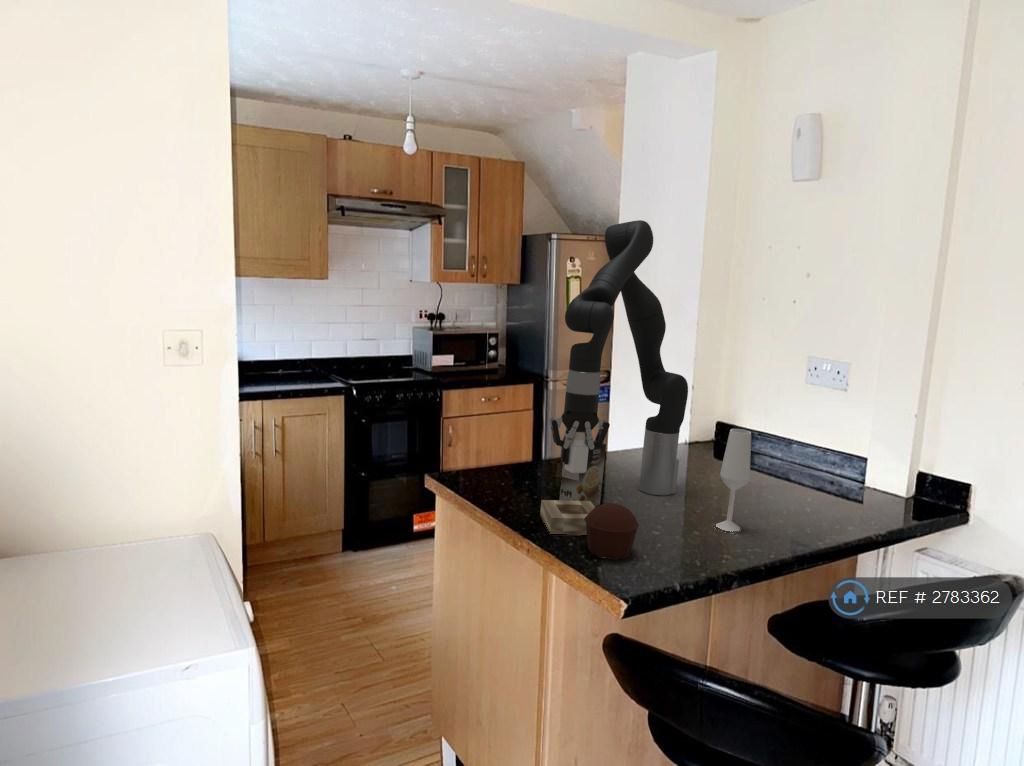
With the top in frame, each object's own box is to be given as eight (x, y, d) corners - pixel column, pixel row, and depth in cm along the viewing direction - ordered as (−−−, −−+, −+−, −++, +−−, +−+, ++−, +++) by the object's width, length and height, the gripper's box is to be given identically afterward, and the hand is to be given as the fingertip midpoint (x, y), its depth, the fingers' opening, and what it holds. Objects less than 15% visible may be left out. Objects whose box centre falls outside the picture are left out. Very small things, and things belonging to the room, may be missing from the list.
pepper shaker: (571, 474, 157) (575, 433, 155) (563, 469, 160) (567, 428, 159) (587, 473, 158) (591, 432, 157) (578, 468, 162) (582, 428, 160)
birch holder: (588, 516, 168) (590, 501, 167) (602, 535, 156) (604, 518, 156) (540, 516, 166) (541, 499, 166) (550, 535, 154) (551, 517, 154)
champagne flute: (728, 522, 172) (740, 427, 168) (748, 531, 166) (761, 433, 162) (707, 524, 169) (719, 428, 165) (727, 534, 163) (740, 435, 159)
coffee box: (577, 511, 171) (583, 448, 169) (558, 504, 176) (563, 442, 173) (600, 504, 178) (606, 443, 175) (581, 498, 182) (587, 438, 180)
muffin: (605, 537, 156) (610, 494, 154) (646, 554, 148) (651, 509, 146) (570, 548, 148) (574, 503, 146) (611, 567, 140) (616, 519, 138)
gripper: (608, 388, 161) (601, 460, 164) (548, 385, 159) (542, 458, 162) (618, 394, 154) (610, 469, 157) (555, 391, 152) (548, 467, 154)
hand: (575, 463), depth 159 cm, fingers closed on pepper shaker, 4 cm apart
